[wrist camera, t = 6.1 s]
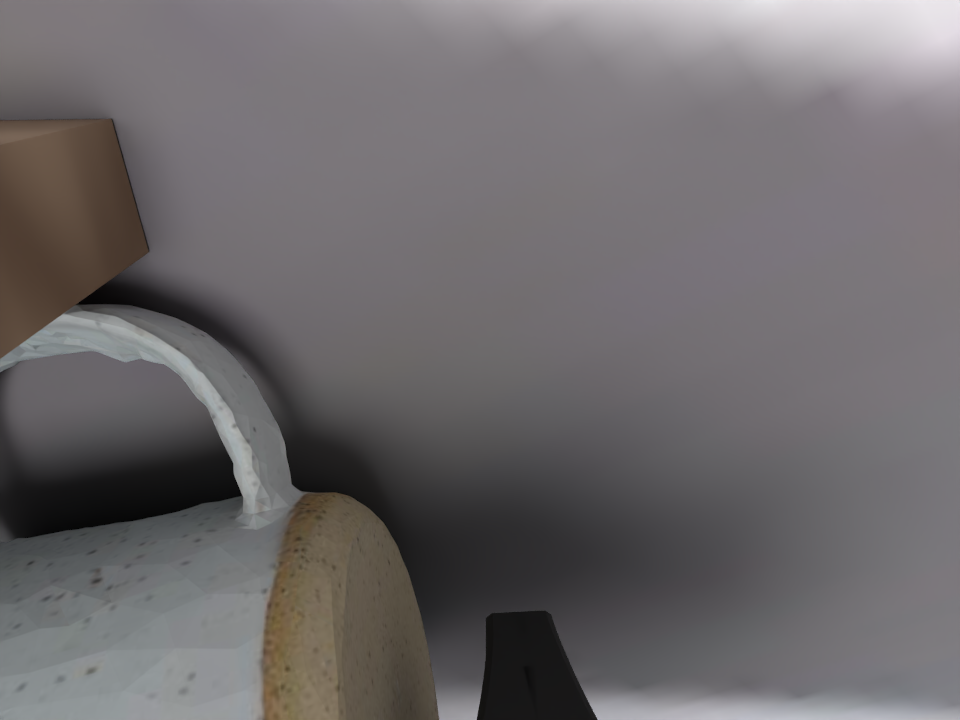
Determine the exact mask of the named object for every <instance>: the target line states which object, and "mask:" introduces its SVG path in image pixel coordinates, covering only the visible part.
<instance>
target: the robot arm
mask: <svg viewBox="0 0 960 720" xmlns="http://www.w3.org/2000/svg"><path fill="white" fill-rule="evenodd" d="M477 720H597V718H596V716H595V714H594V712H593V710H592V708H591V706H590V704H589V702H588V700H587V698H586V696H585V694H584V692H583V690H582V688H581V686H580V684H579V682H578V680H577V678H576V676H575V673H574V671H573V669H572V667H571V665H570V663H569V660H568V658H567V656H566V653H565V651H564V649H563V646H562V644H561V641H560V639H559V636H558V634H557V631H556V628H555V626H554V623H553V620H552V617H551V614H549V613H548V612H547V611H528V612H509V613H492V614H491V615H489V616H488V617H487V618H486V661H485V671H484V679H483V687H482V694H481V699H480V705H479V711H478V716H477Z"/></svg>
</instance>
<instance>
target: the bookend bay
mask: <svg viewBox="0 0 960 720" xmlns="http://www.w3.org/2000/svg"><path fill="white" fill-rule="evenodd" d="M148 252H149V251H148V247H147V244H146V240H145V237H144V233H143V230H142V226H141V222H140V219H139V215H138V212H137V208H136V205H135V201H134V197H133V194H132V190H131V187H130V183H129V180H128V176H127V173H126V169H125V165H124V162H123V158H122V155H121V151H120V148H119V144H118V141H117V137H116V133H115V130H114V126H113V123H112V119H70V120H0V359H1V358H2V357H4V356H5V355H6V354H8V353H9V352H10V351H12V350H13V349H15V348H16V347H17V346H19V345H20V344H22V343H23V342H24V341H26V340H27V339H29V338H30V337H31V336H33V335H34V334H36V333H37V332H38V331H40V330H41V329H42V328H44V327H45V326H47V325H48V324H49V323H51V322H52V321H54V320H55V319H56V318H58V317H59V316H61V315H62V314H63V313H65V312H66V311H68V310H69V309H70V308H72V307H73V306H75V305H76V304H77V303H79V302H80V301H81V300H83V299H84V298H86V297H87V296H88V295H90V294H91V293H93V292H94V291H95V290H97V289H98V288H100V287H101V286H102V285H104V284H105V283H107V282H108V281H109V280H111V279H112V278H113V277H115V276H116V275H118V274H119V273H120V272H122V271H123V270H125V269H126V268H127V267H129V266H130V265H132V264H133V263H134V262H136V261H137V260H139V259H140V258H141V257H143V256H144V255H146V254H147V253H148Z"/></svg>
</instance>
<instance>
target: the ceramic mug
mask: <svg viewBox="0 0 960 720" xmlns="http://www.w3.org/2000/svg"><path fill="white" fill-rule="evenodd" d="M88 351H96V352H99V353H102V354H104V355H107V356H110V357H112V358H115V359H117V360H120V361H123V362H129V361H133V360H137V359H141V358H142V359H143V360H147V361H150V362H154V363H160V364H165V365H166V366H168V367H169V368H170V369H172V370H173V371H174V372H176V373H177V374H179V375H180V377H181V378H182V379H183V380H184V381H185V383H186V384H187V385H188V386H189V388H190V389H191V391H192V392H193V393H194V395H195V396H196V398H198V399H199V400H200V401H201V402H202V403H203V404H205V405H206V407H207V409H208V411H209V413H210V415H211V418H212V420H213V422H214V425H215V427H216V429H217V431H218V434H219V436H220V438H221V440H222V442H223V444H224V446H225V448H226V450H227V452H228V454H229V456H230V458H231V459H232V461H233V469H234V476H235V479H236V481H237V484H238V486H239V488H240V491H241V493H242V495H243V496H240V497H235V498H231V499H227V500H223V501H218V502H210V503H202V504H200V505H197V506H194V507H191V508H188V509H185V510H181V511H178V512H174V513H170V514H165V515H160V516H156V517H149V518H145V519H141V520H136V521H130V522H119V523H113V524H109V525H101V526H96V527H91V528H90V527H86V528H82V529H77V530H67V531H62V532H57V533H52V534H46V535H41V536H36V537H31V538H17V539H15V540H12V541H10V542H3V543H0V720H439V716H438V708H437V700H436V693H435V686H434V680H433V674H432V669H431V663H430V657H429V651H428V646H427V641H426V636H425V632H424V627H423V623H422V618H421V614H420V610H419V607H418V604H417V600H416V597H415V593H414V590H413V587H412V583H411V580H410V577H409V573H408V571H407V568H406V566H405V564H404V562H403V560H402V557H401V554H400V551H399V549H398V546H397V544H396V543H395V541H394V539H393V538H392V536H391V534H390V533H389V531H388V529H387V528H386V526H385V524H384V523H383V522H382V521H381V520H380V519H379V518H378V517H377V516H376V515H375V514H374V513H373V512H372V511H371V510H370V509H369V508H368V507H366V506H365V505H363V504H361V503H360V502H358V501H357V500H355V499H354V498H352V497H350V496H348V495H344V494H340V493H336V492H331V493H313V492H303V491H300V490H298V489H297V488H295V487H294V486H293V485H292V483H291V475H290V470H289V465H288V461H287V457H286V447H285V442H284V440H283V437H282V434H281V431H280V429H279V426H278V424H277V422H276V420H275V418H274V417H273V415H272V413H271V411H270V409H269V408H268V406H267V404H266V403H265V401H264V399H263V398H262V396H261V393H260V391H259V389H258V388H257V386H256V384H255V383H254V381H253V380H252V378H251V377H250V376H249V375H248V374H247V372H246V371H245V370H244V369H243V367H242V366H241V365H240V363H239V362H238V361H237V359H236V358H235V357H234V356H233V355H232V354H231V353H230V352H229V351H228V350H227V349H225V348H224V347H223V346H222V345H221V344H219V343H218V342H217V341H216V340H214V339H213V338H212V337H211V336H210V335H208V334H207V333H205V332H203V331H202V330H200V329H198V328H196V327H194V326H192V325H190V324H188V323H186V322H184V321H181V320H179V319H177V318H175V317H171V316H168V315H165V314H162V313H158V312H154V311H150V310H146V309H143V308H139V307H135V306H131V305H117V304H89V305H75V306H73V307H72V308H70V309H69V310H68V311H66V312H65V313H63V314H62V315H61V316H59V317H58V318H56V319H55V320H54V321H52V322H51V323H49V324H48V325H47V326H45V327H44V328H42V329H41V330H40V331H38V332H37V333H36V334H34V335H33V336H31V337H30V338H29V339H27V340H26V341H24V342H23V343H22V344H20V345H19V346H17V347H16V348H15V349H13V350H12V351H10V352H9V353H8V354H6V355H5V356H4V357H2V358H1V359H0V373H1V372H2V371H3V370H5V369H8V368H10V367H12V366H15V365H16V364H17V363H18V362H19V361H22V360H28V359H35V358H41V357H47V356H53V355H59V354H69V353H78V352H88Z"/></svg>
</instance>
